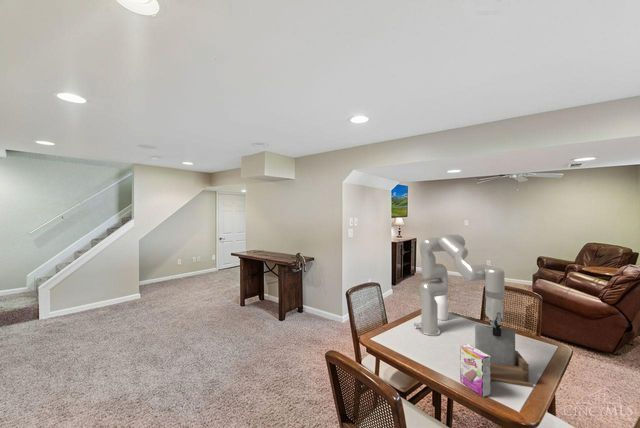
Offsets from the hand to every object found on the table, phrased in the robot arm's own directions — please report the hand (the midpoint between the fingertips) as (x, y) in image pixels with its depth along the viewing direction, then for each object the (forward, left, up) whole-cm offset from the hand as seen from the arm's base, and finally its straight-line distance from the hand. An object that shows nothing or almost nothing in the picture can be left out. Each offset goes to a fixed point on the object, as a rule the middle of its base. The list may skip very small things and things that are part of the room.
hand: (494, 333), depth 125 cm
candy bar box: (-12, -15, -19) cm, 27 cm away
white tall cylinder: (-15, +63, -19) cm, 67 cm away
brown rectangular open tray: (0, 0, -19) cm, 19 cm away
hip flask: (0, 0, -15) cm, 15 cm away
